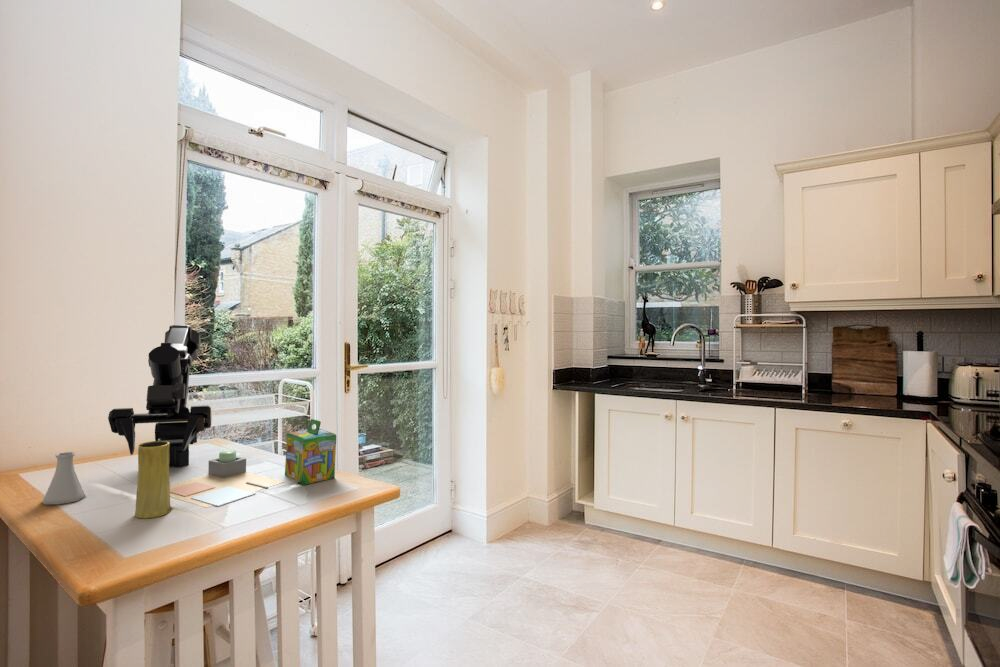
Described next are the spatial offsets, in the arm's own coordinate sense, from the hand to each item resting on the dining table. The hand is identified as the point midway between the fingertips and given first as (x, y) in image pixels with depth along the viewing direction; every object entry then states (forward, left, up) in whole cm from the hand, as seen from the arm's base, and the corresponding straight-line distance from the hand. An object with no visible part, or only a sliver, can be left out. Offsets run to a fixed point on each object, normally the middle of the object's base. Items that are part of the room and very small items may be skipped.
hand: (157, 451), depth 108 cm
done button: (-5, +20, -9) cm, 23 cm away
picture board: (+2, +13, -11) cm, 18 cm away
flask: (-19, -8, -12) cm, 24 cm away
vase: (+4, -3, -12) cm, 13 cm away
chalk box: (+13, +30, -12) cm, 35 cm away
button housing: (-5, +20, -11) cm, 23 cm away
